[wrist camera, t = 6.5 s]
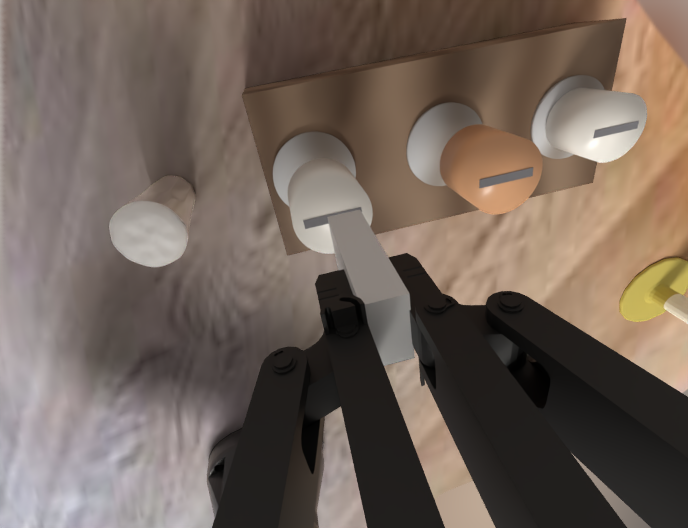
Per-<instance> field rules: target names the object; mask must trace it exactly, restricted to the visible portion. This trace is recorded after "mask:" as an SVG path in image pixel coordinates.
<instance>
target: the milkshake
mask: <svg viewBox="0 0 688 528" xmlns="http://www.w3.org/2000/svg"><path fill="white" fill-rule="evenodd" d="M195 199H196V195H195V192H194V190H193V187H192V185H191V184H190V183H189V182H187V181H186V180H185V179H183V178H182V177H180V176H170V175H166V176H164V177H163V178H161V179H159V180H158V181H156V182H155V183H153V184H152V185H151V186H150V187H148V188H147V189H146V190H145V191H144V192H142V193H141V194H140V195H139V196H137V197H136V198H134V199H133V200H131V201H130V202H128V203H127V204H125V205H124V206H123V207H121V208H120V209H118V210H117V211H116V212H115V213H114V215H113V216H112V218H111V220H110V223H109V231H110V236H111V240H112V243H113V245H114V246H115V247H116V249H117V250H118V251H119V252H120V253H121V254H122V255H123V256H125V257H126V258H127V259H129V260H131V261H133V262H135V263H138V264H141V265H144V266H148V267H161V266H165V265H168V264H170V263H172V262H174V261H176V260H177V259H179V258H180V257H181V256H182V254H183V253H184V251H185V249H186V246H187V242H188V235H189V228H190V221H191V216H192V212H193V207H194V203H195Z"/></svg>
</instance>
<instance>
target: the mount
mask: <svg viewBox="0 0 688 528" xmlns="http://www.w3.org/2000/svg"><path fill="white" fill-rule="evenodd" d="M626 19H627V18H623V19H612V20H601V21H590V22H579V23H571V24H566V25H561V26H556V27H551V28H546V29H541V30H536V31H531V32H526V33H521V34H516V35H511V36H506V37H501V38H496V39H491V40H486V41H481V42H476V43H471V44H466V45H461V46H456V47H451V48H446V49H441V50H436V51H431V52H426V53H421V54H416V55H411V56H406V57H401V58H395V59H390V60H385V61H380V62H375V63H370V64H365V65H360V66H355V67H350V68H345V69H340V70H335V71H330V72H325V73H320V74H315V75H310V76H305V77H300V78H295V79H290V80H285V81H280V82H275V83H270V84H265V85H260V86H255V87H250V88H245V90H244V92H243V94H242V97H243V101H244V104H245V108H246V112H247V115H248V119H249V122H250V126H251V129H252V133H253V136H254V140H255V143H256V147H257V150H258V154H259V157H260V161H261V164H262V168H263V171H264V175H265V178H266V182H267V185H268V189H269V192H270V196H271V199H272V203H273V207H274V210H275V214H276V217H277V221H278V224H279V228H280V231H281V235H282V238H283V242H284V245H285V249H286V252H287V255H291V254H295V253H300V252H304V251H308V250H311V249H310V248H308V247H307V246H305V245H304V244H303V243H302V242H301V241H300V240H299V238H298V237H297V235H296V233H295V231H294V228H293V224H292V218H291V212H290V207H289V201H288V185H289V182H290V179H291V177H292V176H293V174H294V173H295V171H296V170H297V169H298V168H299V167H300V166H302V165H303V164H305V163H306V162H309V161H311V160H314V159H319V158H327V159H332V160H336V161H338V162H340V163H342V164H343V165H344V166H346V167H347V168H348V169H349V170H350V172H351V173H352V175H353V176H354V177H355V179H356V180H357V181H358V183H359V184H360V185H361V187H362V188H363V190H364V191H365V192H366V194H367V195H368V197H369V199H370V201H371V205H372V211H373V216H372V222H371V225H370V227H371V229H372V231H373V232H374V234H379V233H384V232H388V231H392V230H396V229H400V228H404V227H409V226H413V225H417V224H421V223H425V222H430V221H434V220H438V219H442V218H446V217H451V216H455V215H459V214H463V213H467V212H472V211H476V210H479V209H478V208H477V207H475V206H474V205H473V204H471V203H470V202H468V201H467V200H466V199H464V198H463V197H462V196H460V195H459V194H457V193H456V192H455V191H453V190H452V189H451V188H449V187H448V186H447V185H446V184H445V183H444V181H443V179H442V177H441V174H440V158H441V154H442V152H443V149H444V147H445V145H446V144H447V142H448V141H449V140H450V138H451V137H452V136H453V135H454V134H455V133H457V132H458V131H459V130H461V129H463V128H465V127H467V126H470V125H475V124H482V125H486V126H490V127H493V128H496V129H499V130H502V131H505V132H508V133H511V134H514V135H517V136H520V137H523V138H526V139H528V140H530V141H532V142H533V143H534V144H535V145H536V146H537V147H538V149H539V150H540V153H541V156H542V163H543V166H542V174H541V177H540V180H539V182H538V185H537V186H536V188H535V190H534V191H533V193H532V194H531V195H530V197H535V196H539V195H543V194H547V193H551V192H556V191H560V190H564V189H568V188H572V187H577V186H581V185H585V184H589V183H593V179H594V174H595V169H596V165H597V162H596V161H593V160H590V159H587V158H584V157H581V156H578V155H575V154H572V153H569V152H566V151H563V150H560V149H557V148H555V147H553V146H552V145H551V144H550V143H549V142H548V140H547V137H546V122H547V118H548V116H549V113H550V111H551V109H552V108H553V106H554V105H555V104H556V102H557V101H558V100H559V99H560V98H561V97H562V96H563V95H565V94H566V93H568V92H569V91H571V90H574V89H577V88H590V89H598V90H607V91H612V87H613V82H614V77H615V72H616V67H617V62H618V57H619V53H620V48H621V43H622V38H623V33H624V28H625V23H626ZM530 197H529V198H530Z"/></svg>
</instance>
